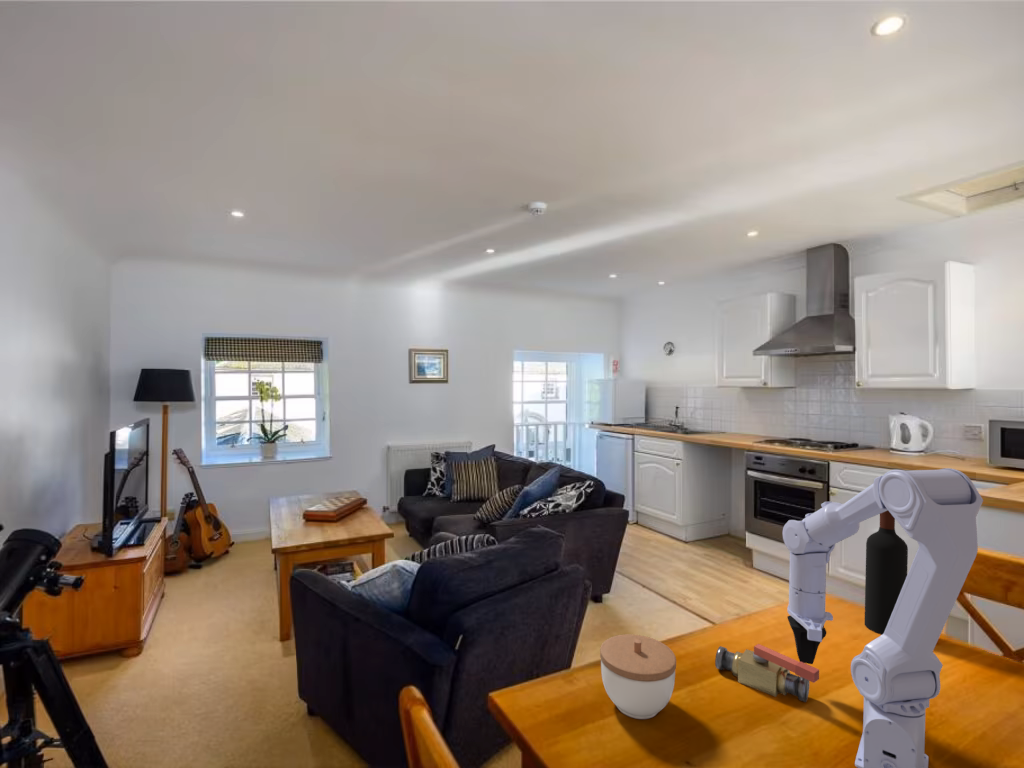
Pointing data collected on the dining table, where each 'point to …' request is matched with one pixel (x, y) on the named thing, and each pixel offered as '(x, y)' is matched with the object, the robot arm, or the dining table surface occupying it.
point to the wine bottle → (884, 573)
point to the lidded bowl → (637, 674)
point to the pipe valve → (762, 674)
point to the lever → (785, 662)
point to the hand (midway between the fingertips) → (805, 661)
